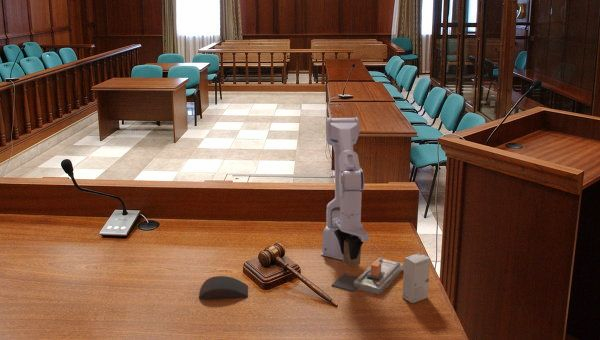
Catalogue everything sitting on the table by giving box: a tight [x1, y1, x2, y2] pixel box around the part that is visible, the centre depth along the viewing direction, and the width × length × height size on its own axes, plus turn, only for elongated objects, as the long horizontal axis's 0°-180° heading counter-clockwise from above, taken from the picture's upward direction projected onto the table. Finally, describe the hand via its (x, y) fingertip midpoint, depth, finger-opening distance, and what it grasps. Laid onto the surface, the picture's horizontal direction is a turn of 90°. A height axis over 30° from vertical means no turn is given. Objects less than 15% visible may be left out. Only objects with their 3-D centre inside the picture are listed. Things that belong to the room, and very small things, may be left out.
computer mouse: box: [198, 275, 249, 300], centre depth 172 cm, size 8×14×4 cm, turn 95°
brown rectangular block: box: [342, 240, 362, 268], centre depth 175 cm, size 4×4×7 cm
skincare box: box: [402, 252, 431, 304], centre depth 168 cm, size 6×4×12 cm
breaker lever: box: [367, 260, 385, 280], centre depth 177 cm, size 4×4×4 cm
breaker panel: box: [354, 257, 404, 296], centre depth 180 cm, size 8×18×3 cm, turn 149°
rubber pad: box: [331, 273, 359, 293], centre depth 178 cm, size 7×8×1 cm
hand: (349, 256), depth 175 cm, fingers closed on brown rectangular block, 3 cm apart
